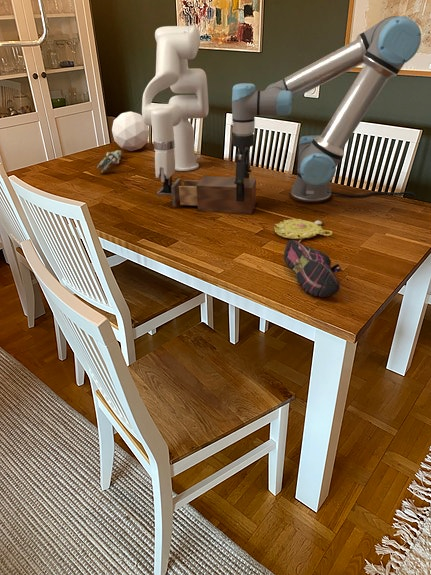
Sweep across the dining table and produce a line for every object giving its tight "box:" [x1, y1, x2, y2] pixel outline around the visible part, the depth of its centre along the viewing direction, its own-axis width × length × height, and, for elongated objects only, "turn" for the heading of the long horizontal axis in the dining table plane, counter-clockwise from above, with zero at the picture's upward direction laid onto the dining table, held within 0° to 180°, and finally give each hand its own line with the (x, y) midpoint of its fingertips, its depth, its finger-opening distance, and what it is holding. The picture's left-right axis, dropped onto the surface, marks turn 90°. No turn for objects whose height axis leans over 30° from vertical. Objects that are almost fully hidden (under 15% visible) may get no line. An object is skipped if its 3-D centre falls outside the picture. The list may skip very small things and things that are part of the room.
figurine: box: [96, 150, 123, 174], centre depth 213 cm, size 7×8×30 cm
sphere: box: [111, 111, 150, 152], centre depth 232 cm, size 19×20×20 cm
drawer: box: [156, 177, 200, 207], centre depth 167 cm, size 25×9×8 cm, turn 77°
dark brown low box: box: [197, 175, 257, 215], centre depth 164 cm, size 20×10×10 cm, turn 77°
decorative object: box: [273, 218, 333, 243], centre depth 145 cm, size 21×2×20 cm
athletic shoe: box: [283, 239, 344, 298], centre depth 119 cm, size 11×22×12 cm
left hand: (168, 193), depth 169 cm, fingers closed
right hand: (242, 195), depth 163 cm, fingers closed on dark brown low box, 10 cm apart
